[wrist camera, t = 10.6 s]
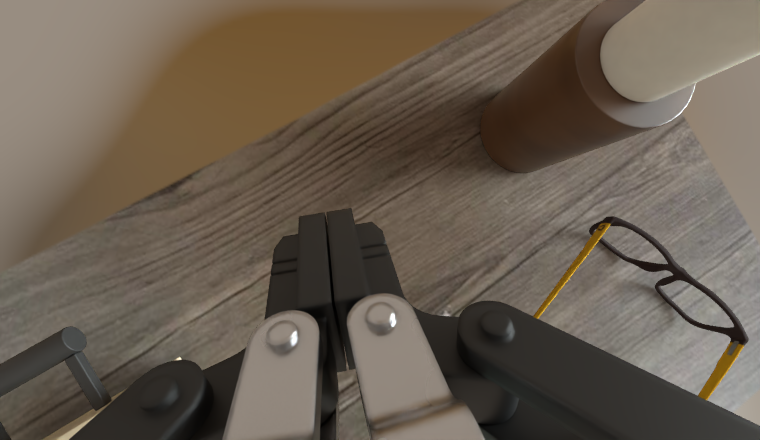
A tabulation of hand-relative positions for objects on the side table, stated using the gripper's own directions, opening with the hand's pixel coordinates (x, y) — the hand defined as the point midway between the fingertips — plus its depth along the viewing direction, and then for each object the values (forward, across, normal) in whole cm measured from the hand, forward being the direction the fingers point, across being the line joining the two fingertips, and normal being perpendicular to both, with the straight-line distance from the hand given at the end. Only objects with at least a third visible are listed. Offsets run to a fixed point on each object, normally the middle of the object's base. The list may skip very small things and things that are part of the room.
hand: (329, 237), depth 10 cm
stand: (+17, -16, +4) cm, 24 cm away
